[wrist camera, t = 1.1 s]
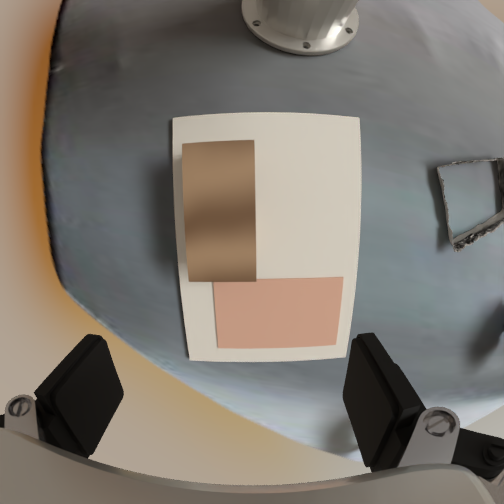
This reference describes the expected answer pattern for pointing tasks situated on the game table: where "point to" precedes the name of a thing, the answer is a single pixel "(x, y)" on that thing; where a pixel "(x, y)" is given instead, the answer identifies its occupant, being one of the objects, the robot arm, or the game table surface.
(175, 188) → the rubber mat
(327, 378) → the game table surface
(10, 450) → the robot arm
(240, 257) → the walnut block
